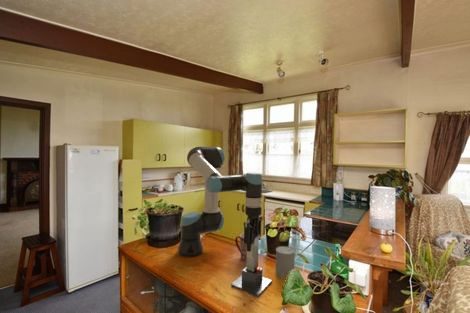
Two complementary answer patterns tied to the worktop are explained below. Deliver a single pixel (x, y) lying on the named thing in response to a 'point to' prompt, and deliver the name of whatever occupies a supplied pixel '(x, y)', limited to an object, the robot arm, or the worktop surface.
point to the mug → (242, 247)
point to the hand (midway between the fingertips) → (252, 255)
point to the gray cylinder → (284, 260)
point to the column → (253, 262)
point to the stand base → (252, 282)
